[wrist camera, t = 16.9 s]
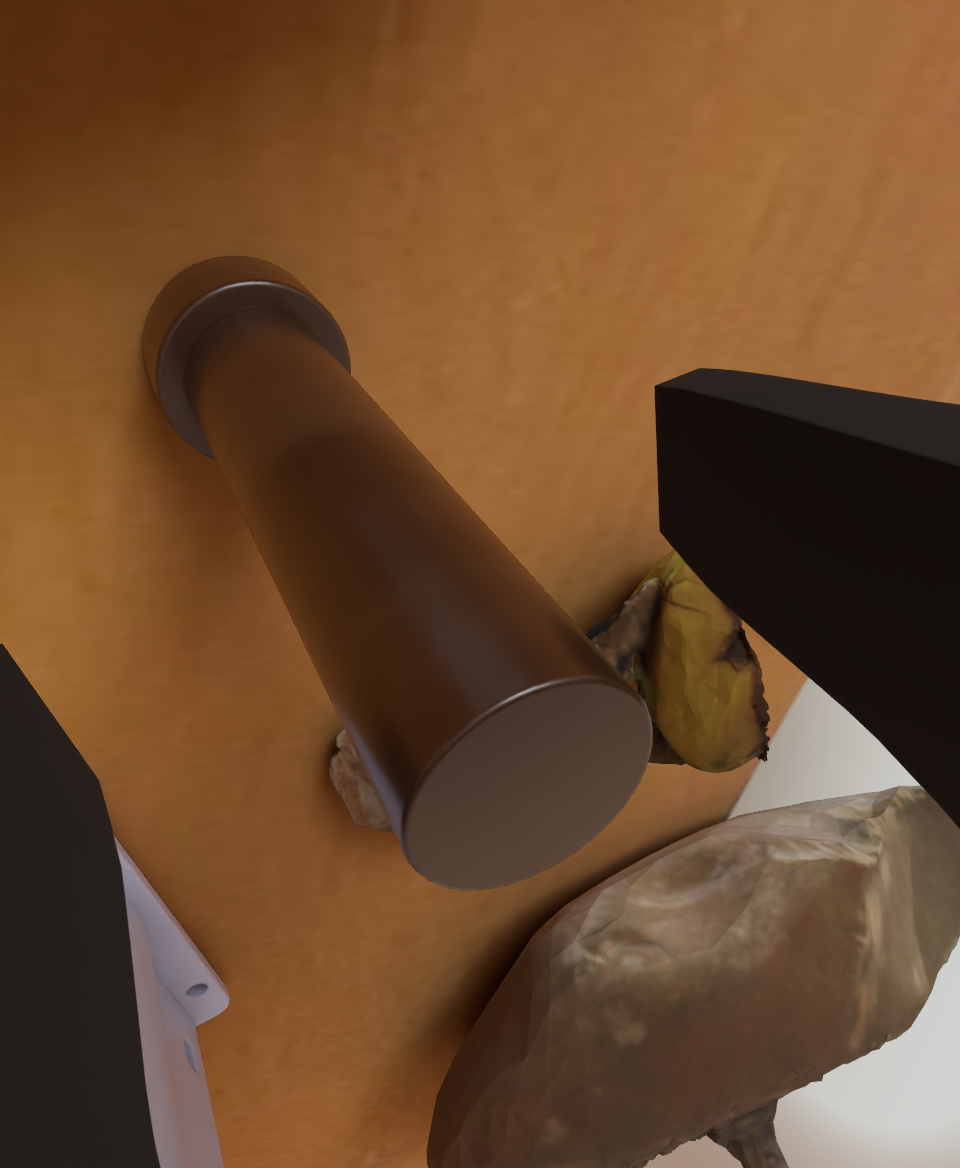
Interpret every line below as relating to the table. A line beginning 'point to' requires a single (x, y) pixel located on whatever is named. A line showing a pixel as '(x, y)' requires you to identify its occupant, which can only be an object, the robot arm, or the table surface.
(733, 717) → the toy
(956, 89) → the table surface
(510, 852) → the dark brown cylinder
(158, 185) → the table surface
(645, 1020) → the stone hammer
